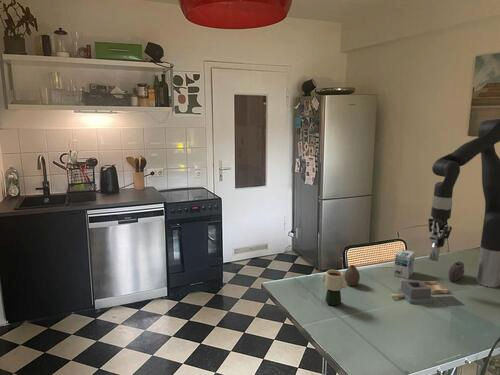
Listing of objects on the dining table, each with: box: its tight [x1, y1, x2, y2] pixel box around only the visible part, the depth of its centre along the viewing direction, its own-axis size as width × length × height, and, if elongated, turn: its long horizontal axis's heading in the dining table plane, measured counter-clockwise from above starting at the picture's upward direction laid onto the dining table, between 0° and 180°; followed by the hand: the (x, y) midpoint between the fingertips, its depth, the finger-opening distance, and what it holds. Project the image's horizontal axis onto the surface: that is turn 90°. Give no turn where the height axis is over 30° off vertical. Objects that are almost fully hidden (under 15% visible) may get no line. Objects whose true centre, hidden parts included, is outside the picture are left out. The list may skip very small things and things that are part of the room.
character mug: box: [322, 269, 348, 306], centre depth 150 cm, size 11×7×13 cm, turn 45°
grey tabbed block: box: [429, 233, 447, 262], centre depth 162 cm, size 4×7×11 cm, turn 95°
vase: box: [344, 264, 361, 287], centre depth 168 cm, size 7×7×9 cm
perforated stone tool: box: [447, 261, 465, 283], centre depth 176 cm, size 15×5×7 cm, turn 134°
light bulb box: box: [393, 248, 416, 280], centre depth 181 cm, size 11×7×11 cm, turn 143°
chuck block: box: [391, 279, 434, 304], centre depth 156 cm, size 15×10×6 cm, turn 95°
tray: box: [422, 280, 450, 294], centre depth 165 cm, size 9×9×2 cm
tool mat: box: [435, 295, 465, 307], centre depth 154 cm, size 8×8×1 cm
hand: (437, 244), depth 161 cm, fingers closed on grey tabbed block, 4 cm apart
